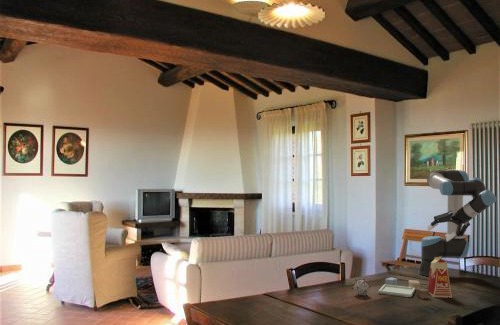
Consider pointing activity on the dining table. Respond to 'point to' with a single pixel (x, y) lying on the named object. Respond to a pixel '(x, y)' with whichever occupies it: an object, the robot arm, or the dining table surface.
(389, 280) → the slate-blue brick
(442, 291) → the milk carton
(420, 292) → the walnut brick
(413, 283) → the maple brick
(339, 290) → the dining table surface
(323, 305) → the dining table surface
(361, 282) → the game die
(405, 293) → the tray
